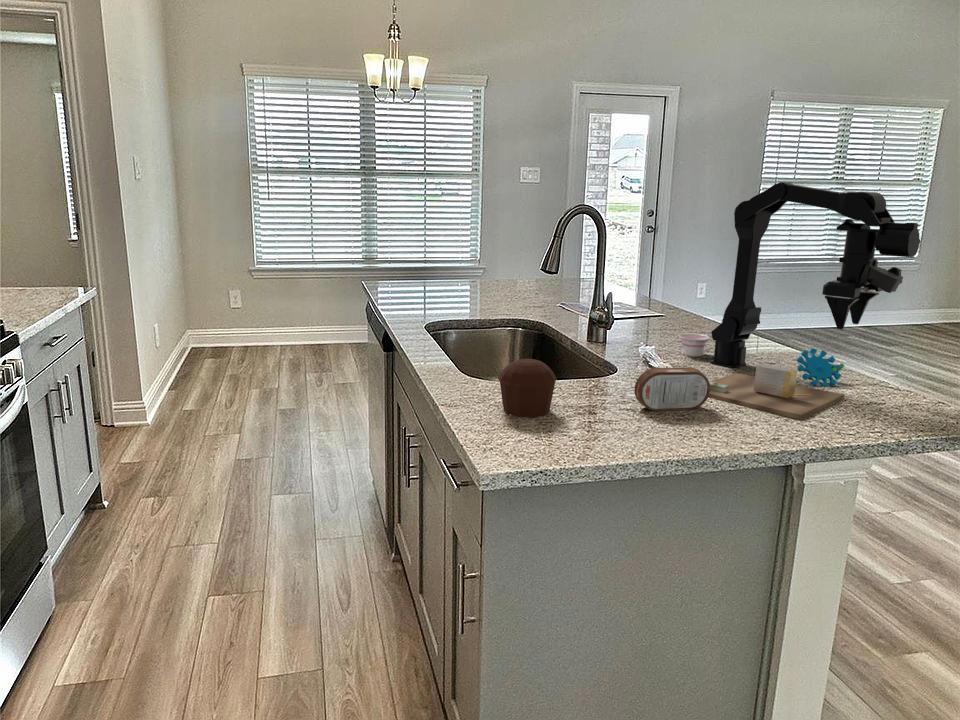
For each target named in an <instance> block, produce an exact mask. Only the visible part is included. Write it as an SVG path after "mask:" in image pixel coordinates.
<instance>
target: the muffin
mask: <svg viewBox="0 0 960 720" xmlns="http://www.w3.org/2000/svg"><path fill="white" fill-rule="evenodd" d="M497 380H498V382H499V387H500V393H501V400H502V408H503V410H504V411H505V412H506V414H507V415H510V414H511V415H510V416H514V417H518V418H533V419H535V418H539V417H544V416H546V415H547V414H548V413H549V412H550V411H551V406H552V400H553V395H554V389H555V385H556V382H557V380H558V378H557V377H556V375H555V373H554V371H553V370H552V368H550V366H548V364H546V363H544V362H543V361H541V360H538V359H534V358H522V359H517V360H514V361H512V362H510V363H509V364H507V365H506V366H505V367H504V368H503V369H502V371H501V372H500V373H499V375H498V376H497Z"/></svg>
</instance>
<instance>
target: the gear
mask: <svg viewBox="0 0 960 720" xmlns="http://www.w3.org/2000/svg"><path fill="white" fill-rule="evenodd" d="M817 352H818V350H817V349H816V348H810V350H809V351H808V350H803V351H802V352H801V353H800V355H801V356H799V357H798V358H797V359H796V362H797V363H799V364H798V366H797V368H796V370H797V372H805V373H803V374H802V375H801V377H802V379H803V380H804V381H807V380H809V379H808V378H811V379H812V378H814V379H813V380H811V382H810V385H811V386H813V385H814V386H813V387H817V385H818V384H819V381H822V383H820V386H821V387H822V386H826V387H825V388H828V387H829V386H830V387H832V386H833V385H834V386H836V385H837V384H838V380H839V379H840V378H841V377H842V374H841V373H839V371H841V370H843V368H845V364H843V363H840V364H834V363H835V362H836V358H835V357H834V356H830V357H828V358H824V357H826V356H827V355H828V352H827V351H825V350H823V349H822V350H820V352H819V353H818V354H819V355H818V356H816V353H817ZM809 354H810V356H809ZM828 380H829V384H828ZM834 386H833V387H834Z"/></svg>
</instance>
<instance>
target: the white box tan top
mask: <svg viewBox="0 0 960 720" xmlns="http://www.w3.org/2000/svg"><path fill="white" fill-rule="evenodd" d="M754 376H755V383H754V391H757V392H761V393H766V394H770V395H775V396H779V397H783V398H787V399H788V398H790V397H793V396H794V393H795V385H797V376H798V370H797V368H796V369H794V368H789V367H782V366H776V365H772V364H768V363H760V364H757V365H756V368H755V375H754Z"/></svg>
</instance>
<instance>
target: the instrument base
mask: <svg viewBox="0 0 960 720" xmlns="http://www.w3.org/2000/svg"><path fill="white" fill-rule="evenodd" d="M709 383H710V392H709V396H708V398H711V399H715V400H719V401H723V402H726V403H730V404H735V405H739V406H741V407H747V408H750V409H754V410H758V411H762V412H765V413H770V414H774V415H778V416H782V417H786V418H791V419H794V420H798V421H801V420H804V419H806V418H807V417H810V416H812V415H814V414H816V413H817V412H819V411H821V410H823V409H825V408H827V407H829V406H831V405H833V404H835V403H837V402H839V401H841V400H843V399H844V397H845V394H843V393H839V392H834V391H828V390H824V389H818V388H813V387H810V386H809V387H808V386H803V385H799V384H796V385H795V393H794V396H793V397H790V398H788V399H787V398H783V397H779V396H775V395H770V394H766V393H761V392H757V391H754V383H755V375H750V374H745V373H741V372H735V373H732V374H729V375H726V376H723V377H720V378H716V379H714V380H711V381H709ZM842 398H843V399H842Z"/></svg>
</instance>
